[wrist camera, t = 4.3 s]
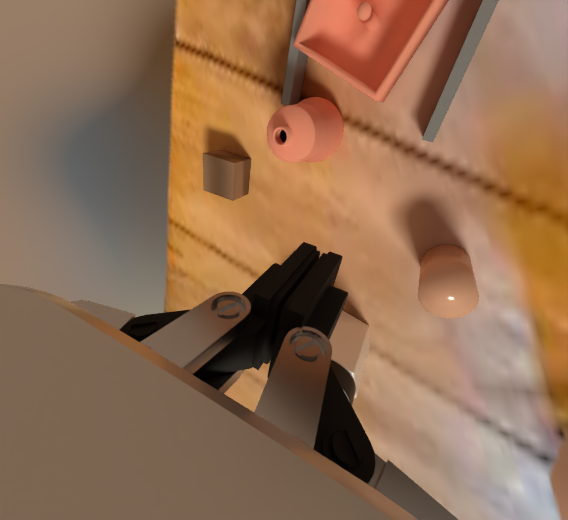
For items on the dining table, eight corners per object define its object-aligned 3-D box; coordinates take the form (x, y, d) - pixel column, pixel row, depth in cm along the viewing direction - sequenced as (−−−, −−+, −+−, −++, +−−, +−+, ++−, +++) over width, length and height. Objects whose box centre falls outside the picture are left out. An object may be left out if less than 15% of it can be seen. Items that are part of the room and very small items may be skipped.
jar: (311, 332, 46) (279, 388, 37) (329, 300, 41) (298, 356, 32) (358, 361, 44) (337, 429, 35) (383, 332, 39) (366, 401, 30)
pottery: (361, -70, 22) (323, -163, 15) (457, -14, 21) (469, -84, 14) (275, 133, 34) (227, 140, 26) (335, 177, 32) (304, 197, 25)
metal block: (251, 158, 36) (234, 163, 33) (248, 193, 39) (232, 200, 36) (222, 149, 38) (203, 153, 35) (221, 183, 41) (203, 190, 38)
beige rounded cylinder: (480, 254, 29) (491, 288, 23) (456, 289, 32) (460, 326, 26) (433, 238, 30) (432, 265, 25) (413, 272, 33) (409, 304, 28)
